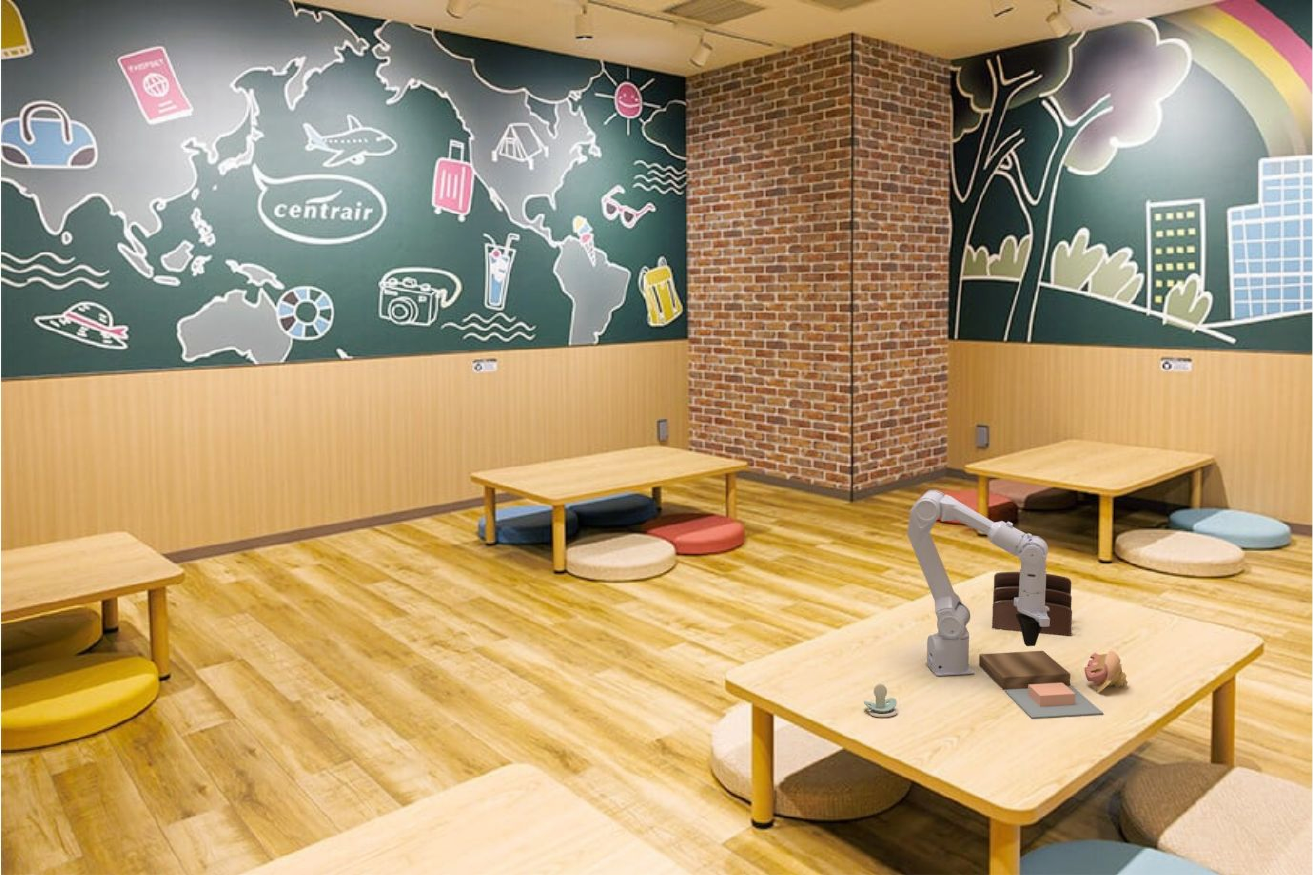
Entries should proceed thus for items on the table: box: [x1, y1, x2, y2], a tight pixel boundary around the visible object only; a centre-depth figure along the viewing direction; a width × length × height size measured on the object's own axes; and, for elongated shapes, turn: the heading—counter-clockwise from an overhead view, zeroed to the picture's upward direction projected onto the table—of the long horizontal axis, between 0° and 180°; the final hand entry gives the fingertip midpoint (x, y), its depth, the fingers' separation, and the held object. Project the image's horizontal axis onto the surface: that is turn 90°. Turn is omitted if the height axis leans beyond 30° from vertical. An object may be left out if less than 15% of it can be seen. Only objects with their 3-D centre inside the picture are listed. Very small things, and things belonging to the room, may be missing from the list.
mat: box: [1004, 685, 1104, 720], centre depth 218 cm, size 16×14×1 cm
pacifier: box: [863, 683, 898, 719], centre depth 216 cm, size 7×6×6 cm
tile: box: [1027, 683, 1075, 706], centre depth 219 cm, size 8×6×2 cm
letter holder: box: [991, 571, 1073, 637], centre depth 263 cm, size 10×20×14 cm, turn 69°
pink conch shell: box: [1084, 649, 1129, 694], centre depth 225 cm, size 9×10×10 cm
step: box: [978, 650, 1071, 691], centre depth 233 cm, size 16×14×3 cm
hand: (1029, 644), depth 229 cm, fingers closed
